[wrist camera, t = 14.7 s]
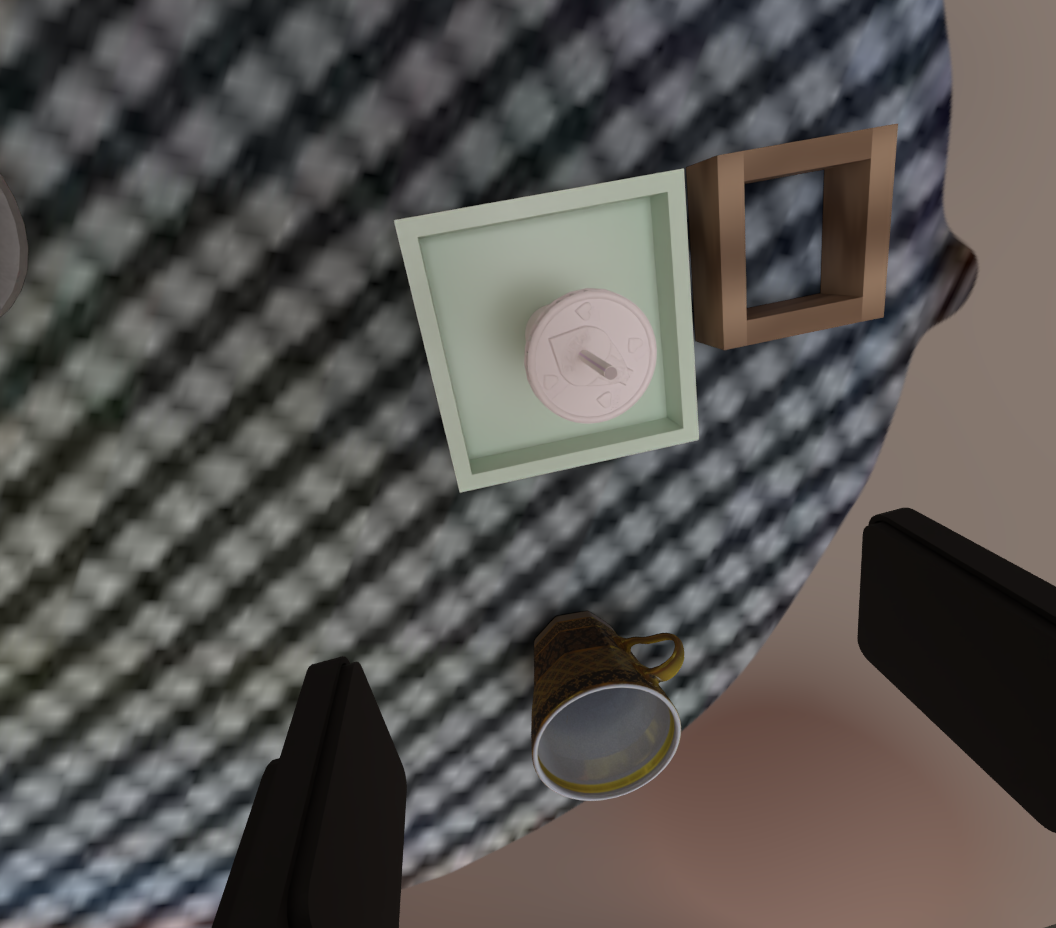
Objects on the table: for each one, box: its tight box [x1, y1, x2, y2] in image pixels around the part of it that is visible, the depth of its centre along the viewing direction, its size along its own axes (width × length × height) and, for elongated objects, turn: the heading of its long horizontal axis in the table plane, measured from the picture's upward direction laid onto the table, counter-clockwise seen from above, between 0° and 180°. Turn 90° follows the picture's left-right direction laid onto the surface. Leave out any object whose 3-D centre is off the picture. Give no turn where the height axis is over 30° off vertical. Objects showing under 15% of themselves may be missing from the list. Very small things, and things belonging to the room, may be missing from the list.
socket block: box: [686, 124, 898, 350], centre depth 33 cm, size 11×11×4 cm
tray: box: [394, 169, 699, 492], centre depth 34 cm, size 16×16×4 cm
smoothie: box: [524, 288, 657, 424], centre depth 28 cm, size 6×6×14 cm
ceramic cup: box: [531, 611, 684, 801], centre depth 39 cm, size 13×10×10 cm
